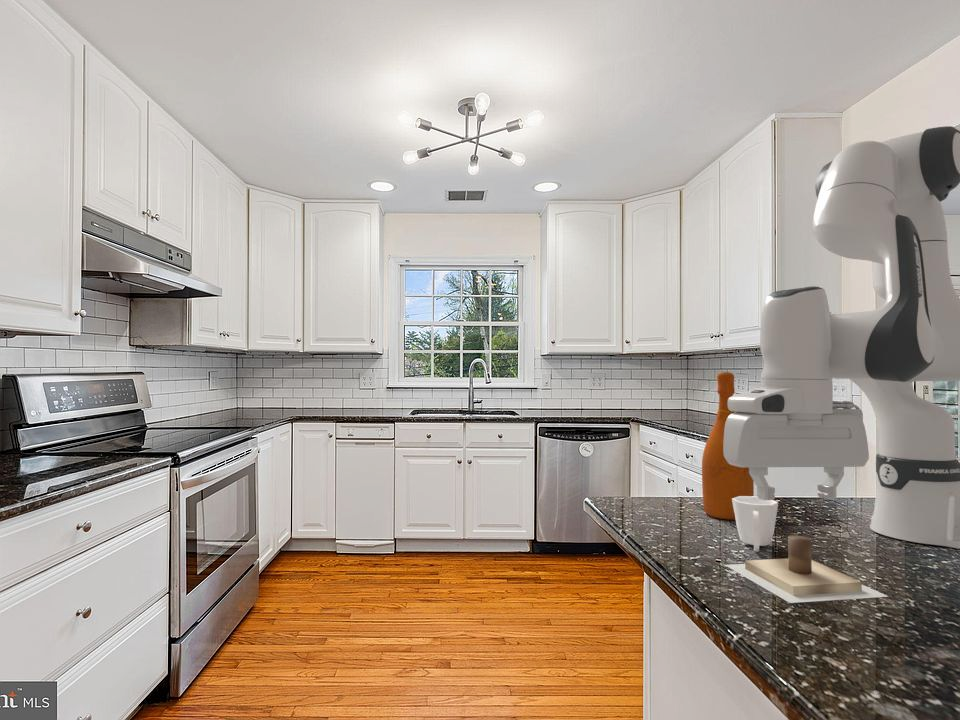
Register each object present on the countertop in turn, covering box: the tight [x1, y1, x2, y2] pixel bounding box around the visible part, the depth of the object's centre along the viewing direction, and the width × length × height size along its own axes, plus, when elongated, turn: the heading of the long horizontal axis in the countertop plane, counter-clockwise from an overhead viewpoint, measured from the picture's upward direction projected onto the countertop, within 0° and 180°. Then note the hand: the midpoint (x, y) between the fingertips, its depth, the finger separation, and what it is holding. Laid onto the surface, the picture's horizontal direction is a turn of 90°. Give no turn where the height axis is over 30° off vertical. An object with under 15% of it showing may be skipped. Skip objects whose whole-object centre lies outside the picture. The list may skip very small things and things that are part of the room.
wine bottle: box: [701, 371, 755, 521], centre depth 114 cm, size 10×10×30 cm
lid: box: [744, 535, 863, 596], centre depth 76 cm, size 10×10×6 cm
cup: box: [732, 495, 779, 553], centre depth 90 cm, size 7×10×8 cm
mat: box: [724, 563, 889, 604], centre depth 76 cm, size 14×14×1 cm
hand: (796, 499), depth 76 cm, fingers open, 8 cm apart
